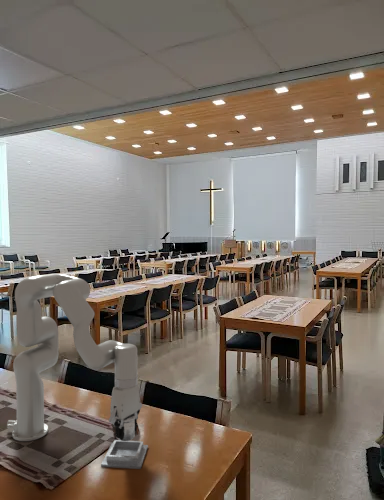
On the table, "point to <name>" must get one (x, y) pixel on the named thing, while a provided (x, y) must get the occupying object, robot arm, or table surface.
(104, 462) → the duct collar
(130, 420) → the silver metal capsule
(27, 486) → the table surface
